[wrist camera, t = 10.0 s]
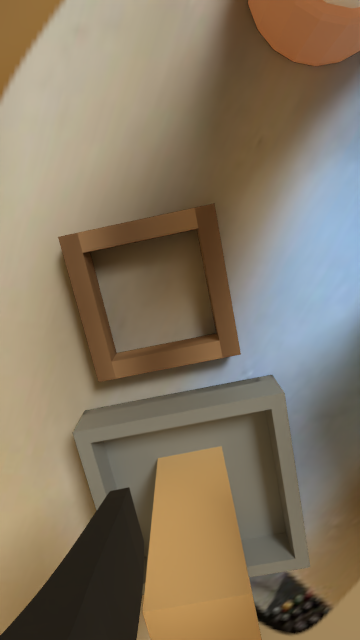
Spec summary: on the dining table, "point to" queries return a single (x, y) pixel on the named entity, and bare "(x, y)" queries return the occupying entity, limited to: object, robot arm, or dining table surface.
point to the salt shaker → (309, 28)
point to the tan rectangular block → (196, 555)
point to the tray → (198, 434)
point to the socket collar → (94, 311)
